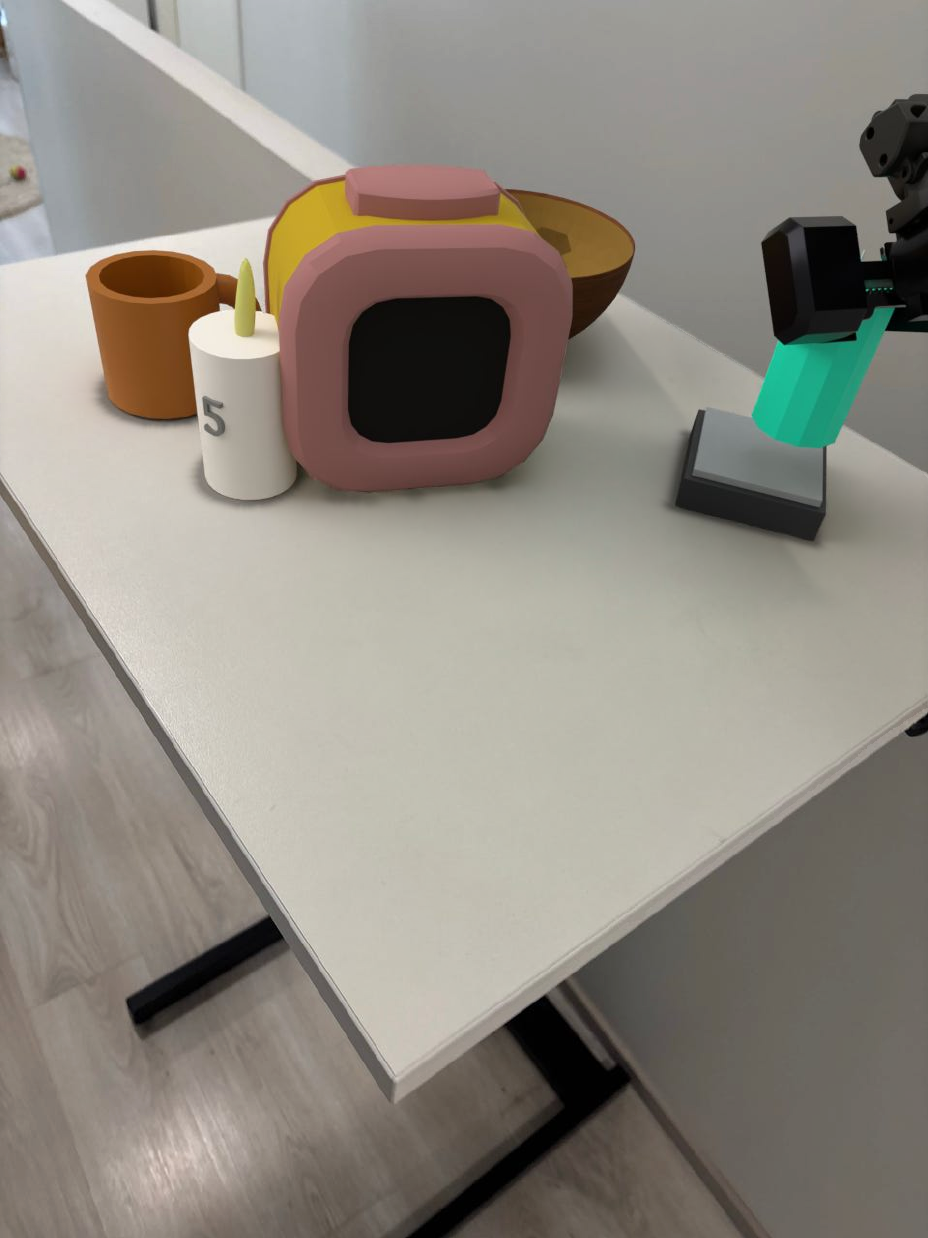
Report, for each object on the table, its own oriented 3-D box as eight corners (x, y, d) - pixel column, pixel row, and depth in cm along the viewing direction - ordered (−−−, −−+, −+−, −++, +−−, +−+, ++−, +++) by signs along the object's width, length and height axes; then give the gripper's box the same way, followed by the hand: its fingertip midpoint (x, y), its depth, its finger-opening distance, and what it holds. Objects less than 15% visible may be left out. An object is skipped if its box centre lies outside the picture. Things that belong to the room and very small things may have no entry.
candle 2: (842, 455, 60) (923, 279, 52) (752, 438, 61) (818, 260, 53) (835, 409, 65) (908, 240, 56) (750, 393, 65) (810, 223, 57)
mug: (272, 417, 69) (267, 304, 63) (104, 423, 66) (80, 304, 60) (264, 357, 75) (258, 249, 69) (109, 360, 72) (89, 247, 66)
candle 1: (183, 479, 62) (153, 264, 52) (243, 436, 67) (227, 230, 56) (258, 513, 61) (243, 298, 50) (314, 467, 65) (312, 259, 55)
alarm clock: (288, 509, 61) (277, 216, 48) (268, 419, 69) (253, 143, 55) (546, 487, 66) (601, 214, 53) (501, 405, 74) (540, 147, 60)
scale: (815, 466, 72) (830, 432, 70) (813, 541, 65) (830, 506, 63) (689, 435, 73) (700, 401, 71) (674, 505, 66) (686, 470, 64)
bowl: (499, 417, 72) (518, 296, 65) (372, 322, 81) (376, 207, 74) (649, 363, 81) (680, 251, 74) (519, 283, 90) (535, 176, 83)
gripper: (1153, 56, 47) (919, 197, 62) (853, 44, 41) (676, 202, 56) (1181, 274, 47) (941, 362, 62) (887, 290, 42) (702, 382, 56)
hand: (820, 324), depth 59 cm, fingers closed on candle 2, 6 cm apart
